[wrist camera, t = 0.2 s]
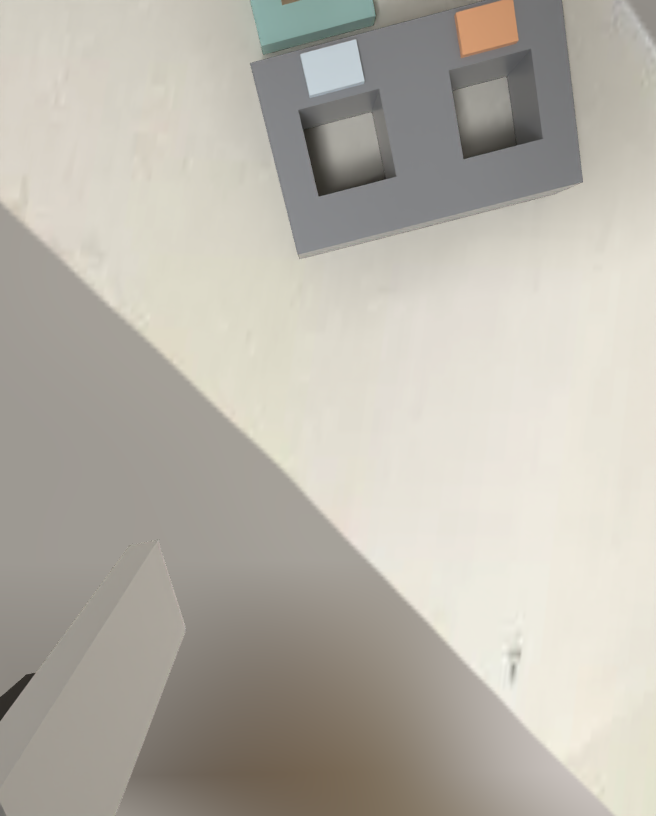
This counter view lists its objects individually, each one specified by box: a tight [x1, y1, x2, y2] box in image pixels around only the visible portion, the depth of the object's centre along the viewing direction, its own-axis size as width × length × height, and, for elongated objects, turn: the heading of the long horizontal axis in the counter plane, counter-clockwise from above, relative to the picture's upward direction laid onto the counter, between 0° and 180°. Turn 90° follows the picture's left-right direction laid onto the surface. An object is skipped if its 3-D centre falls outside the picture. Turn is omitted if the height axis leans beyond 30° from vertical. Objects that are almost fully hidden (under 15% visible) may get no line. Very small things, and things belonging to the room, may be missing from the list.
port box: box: [250, 0, 583, 259], centre depth 34 cm, size 12×20×4 cm, turn 104°
